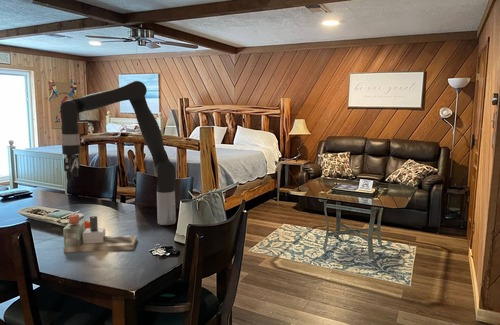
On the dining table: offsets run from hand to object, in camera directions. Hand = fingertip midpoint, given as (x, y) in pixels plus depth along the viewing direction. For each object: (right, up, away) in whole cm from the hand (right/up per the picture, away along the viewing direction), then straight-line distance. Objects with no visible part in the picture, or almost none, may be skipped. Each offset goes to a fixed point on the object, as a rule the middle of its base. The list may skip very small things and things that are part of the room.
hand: (72, 178), depth 179 cm
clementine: (+5, -27, +2) cm, 28 cm away
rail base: (+18, -29, -12) cm, 36 cm away
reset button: (+7, -20, -15) cm, 26 cm away
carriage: (+15, -27, -12) cm, 33 cm away
